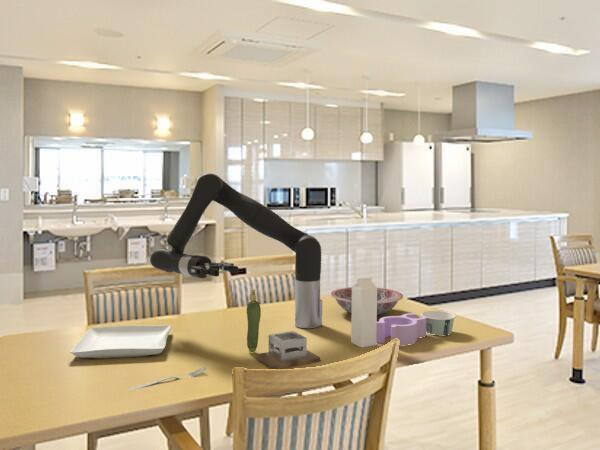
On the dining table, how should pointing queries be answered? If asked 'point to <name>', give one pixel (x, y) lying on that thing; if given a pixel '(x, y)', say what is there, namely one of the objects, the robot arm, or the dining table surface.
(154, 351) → the square plate
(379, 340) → the clip
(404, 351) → the dining table surface
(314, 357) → the brown rectangular board
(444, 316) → the food container
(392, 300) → the ceramic bowl
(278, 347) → the gray slotted crate
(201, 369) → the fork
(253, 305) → the vegetable
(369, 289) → the milk
